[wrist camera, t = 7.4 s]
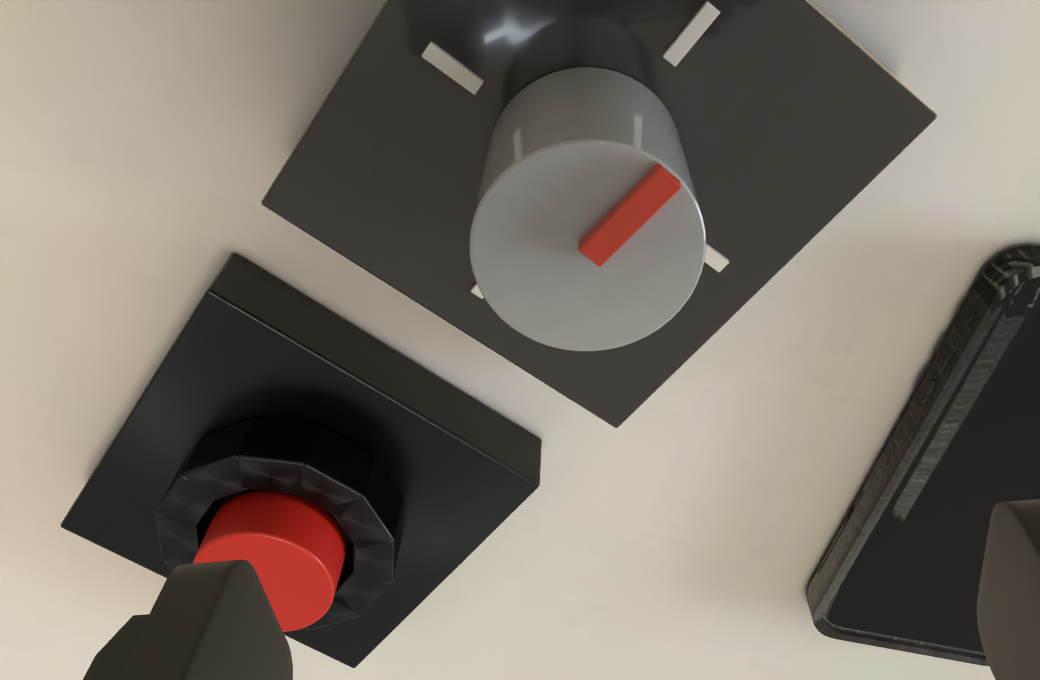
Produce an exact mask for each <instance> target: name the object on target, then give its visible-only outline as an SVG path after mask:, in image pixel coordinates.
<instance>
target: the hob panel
mask: <svg viewBox="0 0 1040 680" xmlns="http://www.w3.org/2000/svg"><path fill="white" fill-rule="evenodd" d="M578 67H594V68H602V69H608V70H612V71H615V72H619V73H621V74H624V75H626V76H629V77H631V78H633V79H634V80H636V81H638V82H640V83H641V84H643V85H644V86H645V87H647V88H648V89H649V90H650V91H652V92H653V93H654V94H655V95H656V96H657V97H658V98H659V99H660V100H661V102H662V103H663V104H664V106H665V107H666V109H667V110H668V111H669V113H670V115H671V117H672V119H673V121H674V123H675V126H676V128H677V131H678V134H679V137H680V141H681V144H682V148H683V151H684V155H685V158H686V161H687V165H688V168H689V172H690V175H691V179H692V182H693V186H694V189H695V192H696V196H697V199H698V203H699V206H700V210H701V213H702V216H703V221H704V226H705V231H706V253H705V261H704V265H703V269H702V273H701V275H700V278H699V280H698V283H697V285H696V287H695V289H694V291H693V292H692V294H691V296H690V298H689V299H688V300H687V302H686V303H685V304H684V306H683V307H682V308H681V310H680V311H679V312H678V313H677V314H676V315H675V316H674V317H673V318H672V319H671V320H670V321H668V322H667V323H666V324H665V325H663V326H662V327H661V328H659V329H658V330H656V331H655V332H653V333H651V334H650V335H648V336H646V337H644V338H642V339H640V340H638V341H635V342H633V343H630V344H627V345H624V346H621V347H617V348H612V349H607V350H599V351H573V350H564V349H560V348H555V347H551V346H548V345H545V344H542V343H539V342H536V341H534V340H532V339H530V338H528V337H526V336H524V335H523V334H521V333H519V332H518V331H516V330H515V329H513V328H512V327H511V326H509V325H508V324H507V323H506V322H505V321H503V320H502V319H501V318H500V317H499V316H498V315H497V314H496V312H495V311H494V310H493V309H492V308H491V307H490V305H489V304H488V302H487V301H486V300H485V298H484V297H483V295H482V293H481V291H480V289H479V287H478V285H477V283H476V280H475V277H474V274H473V271H472V266H471V261H470V250H469V242H470V231H471V226H472V221H473V217H474V212H475V207H476V203H477V198H478V193H479V189H480V184H481V179H482V175H483V170H484V165H485V161H486V156H487V151H488V147H489V142H490V138H491V134H492V132H493V129H494V126H495V124H496V122H497V120H498V118H499V116H500V115H501V113H502V111H503V110H504V109H505V107H506V106H507V105H508V103H509V102H510V101H511V100H512V99H513V98H514V97H515V96H516V95H517V94H518V93H519V92H520V91H521V90H523V89H524V88H525V87H527V86H528V85H529V84H531V83H533V82H534V81H536V80H538V79H539V78H542V77H544V76H546V75H549V74H551V73H554V72H557V71H561V70H565V69H571V68H578ZM936 117H937V115H936V113H935V112H934V111H933V110H931V109H930V108H929V107H928V106H927V105H926V104H925V103H924V102H923V101H922V100H921V99H920V98H919V97H918V96H917V95H916V94H915V93H914V92H913V91H912V90H911V89H910V88H909V87H908V86H906V85H905V84H904V83H903V82H902V81H901V80H900V79H899V78H898V77H897V76H896V75H895V74H894V73H893V72H891V71H890V70H889V69H888V68H887V67H886V66H885V65H883V64H882V63H881V62H880V61H879V60H878V59H877V58H875V57H874V56H873V55H872V54H871V53H870V52H869V51H867V50H866V49H865V48H864V47H863V46H862V45H861V44H859V43H858V42H857V41H856V40H855V39H854V38H853V37H851V36H850V35H849V34H848V33H847V32H846V31H845V30H843V29H842V28H841V27H840V26H839V25H838V24H837V23H835V22H834V21H833V20H832V19H831V18H830V17H829V16H827V15H826V14H825V13H824V12H823V11H822V10H821V9H819V8H818V7H817V6H816V5H815V4H814V3H813V2H811V1H810V0H387V1H386V2H385V4H384V6H383V7H382V9H381V10H380V12H379V14H378V15H377V17H376V18H375V20H374V22H373V23H372V25H371V26H370V28H369V30H368V31H367V33H366V34H365V36H364V38H363V39H362V41H361V42H360V44H359V46H358V47H357V49H356V50H355V52H354V54H353V55H352V57H351V58H350V60H349V62H348V63H347V65H346V66H345V68H344V70H343V71H342V73H341V75H340V76H339V78H338V79H337V81H336V83H335V84H334V86H333V87H332V89H331V91H330V92H329V94H328V95H327V97H326V99H325V100H324V102H323V103H322V105H321V107H320V108H319V110H318V111H317V113H316V115H315V116H314V118H313V119H312V121H311V123H310V124H309V126H308V127H307V129H306V131H305V132H304V134H303V135H302V137H301V139H300V140H299V142H298V143H297V145H296V147H295V148H294V150H293V151H292V153H291V155H290V156H289V158H288V159H287V161H286V163H285V164H284V166H283V167H282V169H281V171H280V172H279V174H278V175H277V177H276V179H275V180H274V182H273V183H272V185H271V187H270V188H269V190H268V191H267V193H266V195H265V196H264V198H263V200H262V203H261V204H262V205H264V206H265V207H267V208H268V209H270V210H271V211H273V212H275V213H276V214H278V215H279V216H281V217H283V218H284V219H286V220H287V221H289V222H290V223H292V224H294V225H295V226H297V227H298V228H300V229H301V230H303V231H305V232H306V233H308V234H309V235H311V236H313V237H314V238H316V239H317V240H319V241H320V242H322V243H324V244H325V245H327V246H328V247H330V248H332V249H333V250H335V251H336V252H338V253H339V254H341V255H343V256H344V257H346V258H347V259H349V260H351V261H352V262H354V263H355V264H357V265H358V266H360V267H362V268H363V269H365V270H366V271H368V272H370V273H371V274H373V275H374V276H376V277H377V278H379V279H381V280H382V281H384V282H385V283H387V284H389V285H390V286H392V287H393V288H395V289H396V290H398V291H400V292H401V293H403V294H404V295H406V296H408V297H409V298H411V299H412V300H414V301H415V302H417V303H419V304H420V305H422V306H423V307H425V308H427V309H428V310H430V311H431V312H433V313H434V314H436V315H438V316H439V317H441V318H442V319H444V320H446V321H447V322H449V323H450V324H452V325H453V326H455V327H457V328H458V329H460V330H461V331H463V332H465V333H466V334H468V335H469V336H471V337H472V338H474V339H476V340H477V341H479V342H480V343H482V344H484V345H485V346H487V347H488V348H490V349H491V350H493V351H495V352H496V353H498V354H499V355H501V356H503V357H504V358H506V359H507V360H509V361H510V362H512V363H514V364H515V365H517V366H518V367H520V368H521V369H523V370H525V371H526V372H528V373H529V374H531V375H533V376H534V377H536V378H537V379H539V380H540V381H542V382H544V383H545V384H547V385H548V386H550V387H552V388H553V389H555V390H556V391H558V392H559V393H561V394H563V395H564V396H566V397H567V398H569V399H571V400H572V401H574V402H575V403H577V404H578V405H580V406H582V407H583V408H585V409H586V410H588V411H590V412H591V413H593V414H594V415H596V416H597V417H599V418H601V419H602V420H604V421H605V422H607V423H609V424H610V425H612V426H613V427H615V428H618V427H619V426H620V425H621V424H622V423H623V422H624V421H625V420H626V419H627V418H628V417H629V416H630V415H631V414H632V413H633V412H634V411H635V410H636V409H637V408H638V407H639V406H640V405H642V404H643V403H644V402H645V401H646V400H647V399H648V398H649V397H650V396H651V395H652V394H653V393H654V392H655V391H656V390H657V389H658V388H659V387H660V386H661V385H662V384H663V383H664V382H665V381H666V380H667V379H668V378H669V377H670V376H671V375H672V374H673V373H674V372H675V371H676V370H678V369H679V368H680V367H681V366H682V365H683V364H684V363H685V362H686V361H687V360H688V359H689V358H690V357H691V356H692V355H693V354H694V353H695V352H696V351H697V350H698V349H699V348H700V347H701V346H702V345H703V344H704V343H705V342H706V341H707V340H708V339H709V338H710V337H711V336H712V335H714V334H715V333H716V332H717V331H718V330H719V329H720V328H721V327H722V326H723V325H724V324H725V323H726V322H727V321H728V320H729V319H730V318H731V317H732V316H733V315H734V314H735V313H736V312H737V311H738V310H739V309H740V308H741V307H742V306H743V305H744V304H745V303H746V302H747V301H749V300H750V299H751V298H752V297H753V296H754V295H755V294H756V293H757V292H758V291H759V290H760V289H761V288H762V287H763V286H764V285H765V284H766V283H767V282H768V281H769V280H770V279H771V278H772V277H773V276H774V275H775V274H776V273H777V272H778V271H779V270H780V269H781V268H782V267H783V266H785V265H786V264H787V263H788V262H789V261H790V260H791V259H792V258H793V257H794V256H795V255H796V254H797V253H798V252H799V251H800V250H801V249H802V248H803V247H804V246H805V245H806V244H807V243H808V242H809V241H810V240H811V239H812V238H813V237H814V236H815V235H816V234H817V233H818V232H819V231H821V230H822V229H823V228H824V227H825V226H826V225H827V224H828V223H829V222H830V221H831V220H832V219H833V218H834V217H835V216H836V215H837V214H838V213H839V212H840V211H841V210H842V209H843V208H844V207H845V206H846V205H847V204H848V203H849V202H850V201H851V200H852V199H853V198H854V197H855V196H857V195H858V194H859V193H860V192H861V191H862V190H863V189H864V188H865V187H866V186H867V185H868V184H869V183H870V182H871V181H872V180H873V179H874V178H875V177H876V176H877V175H878V174H879V173H880V172H881V171H882V170H883V169H884V168H885V167H886V166H887V165H888V164H889V163H890V162H892V161H893V160H894V159H895V158H896V157H897V156H898V155H899V154H900V153H901V152H902V151H903V150H904V149H905V148H906V147H907V146H908V145H909V144H910V143H911V142H912V141H913V140H914V139H915V138H916V137H917V136H918V135H919V134H920V133H921V132H922V131H923V130H924V129H925V128H926V127H928V126H929V125H930V124H931V123H932V122H933V121H934V120H935V119H936Z"/></svg>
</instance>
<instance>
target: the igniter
mask: <svg viewBox="0 0 1040 680" xmlns="http://www.w3.org/2000/svg"><path fill="white" fill-rule="evenodd" d="M541 442H542V441H541V440H540V439H539V438H537V437H535V436H534V435H532V434H531V433H529V432H527V431H526V430H524V429H522V428H521V427H519V426H517V425H516V424H514V423H512V422H511V421H509V420H507V419H506V418H504V417H503V416H501V415H499V414H498V413H496V412H494V411H493V410H491V409H489V408H488V407H486V406H484V405H483V404H481V403H480V402H478V401H476V400H475V399H473V398H471V397H470V396H468V395H466V394H465V393H463V392H461V391H460V390H458V389H457V388H455V387H453V386H452V385H450V384H448V383H447V382H445V381H443V380H442V379H440V378H438V377H437V376H435V375H434V374H432V373H430V372H429V371H427V370H425V369H424V368H422V367H420V366H419V365H417V364H415V363H414V362H412V361H411V360H409V359H407V358H406V357H404V356H402V355H401V354H399V353H397V352H396V351H394V350H392V349H391V348H389V347H388V346H386V345H384V344H383V343H381V342H379V341H378V340H376V339H374V338H373V337H371V336H369V335H368V334H366V333H365V332H363V331H361V330H360V329H358V328H356V327H355V326H353V325H351V324H350V323H348V322H346V321H345V320H343V319H342V318H340V317H338V316H337V315H335V314H333V313H332V312H330V311H328V310H327V309H325V308H323V307H322V306H320V305H319V304H317V303H315V302H314V301H312V300H310V299H309V298H307V297H305V296H304V295H302V294H300V293H299V292H297V291H295V290H294V289H292V288H291V287H289V286H287V285H286V284H284V283H282V282H281V281H279V280H277V279H276V278H274V277H272V276H271V275H269V274H268V273H266V272H264V271H263V270H261V269H259V268H258V267H256V266H254V265H253V264H251V263H249V262H248V261H246V260H245V259H243V258H241V257H240V256H238V255H236V254H232V255H231V256H230V257H229V259H228V260H227V262H226V263H225V265H224V266H223V268H222V269H221V270H220V272H219V273H218V275H217V276H216V278H215V279H214V281H213V282H212V284H211V285H210V286H209V288H208V289H207V291H206V292H205V294H204V296H203V297H202V299H201V300H200V302H199V304H198V305H197V307H196V308H195V310H194V312H193V313H192V315H191V316H190V318H189V320H188V321H187V323H186V324H185V326H184V328H183V329H182V331H181V332H180V334H179V336H178V337H177V339H176V340H175V342H174V344H173V345H172V347H171V348H170V350H169V352H168V353H167V355H166V356H165V358H164V360H163V361H162V363H161V364H160V366H159V368H158V369H157V371H156V372H155V374H154V376H153V377H152V379H151V381H150V382H149V384H148V385H147V387H146V389H145V390H144V392H143V393H142V395H141V397H140V398H139V400H138V401H137V403H136V405H135V406H134V408H133V409H132V411H131V413H130V414H129V416H128V417H127V419H126V421H125V422H124V424H123V425H122V427H121V429H120V430H119V432H118V433H117V435H116V437H115V438H114V440H113V441H112V443H111V445H110V446H109V448H108V449H107V451H106V453H105V454H104V456H103V457H102V459H101V461H100V462H99V464H98V465H97V467H96V469H95V470H94V472H93V473H92V475H91V477H90V478H89V480H88V481H87V483H86V485H85V486H84V488H83V489H82V491H81V493H80V494H79V496H78V497H77V499H76V501H75V502H74V504H73V505H72V507H71V509H70V510H69V512H68V513H67V515H66V517H65V518H64V520H63V521H62V523H61V527H62V528H64V529H66V530H68V531H70V532H72V533H74V534H76V535H79V536H81V537H83V538H85V539H87V540H89V541H91V542H93V543H95V544H97V545H99V546H101V547H103V548H105V549H108V550H110V551H112V552H114V553H116V554H118V555H120V556H122V557H124V558H126V559H128V560H130V561H132V562H134V563H137V564H139V565H141V566H143V567H145V568H147V569H149V570H151V571H153V572H155V573H157V574H159V575H161V576H163V577H166V578H168V576H169V575H170V573H171V572H172V571H173V569H175V568H176V567H177V566H179V565H181V564H193V561H194V558H195V556H196V553H197V551H198V549H199V547H200V545H201V543H202V541H203V539H204V536H205V534H206V532H207V530H208V528H209V526H210V524H211V522H212V520H213V517H214V516H215V514H216V512H217V511H218V510H219V509H220V508H221V506H223V505H224V504H225V503H226V502H228V501H229V500H231V499H233V498H234V497H237V496H239V495H242V494H245V493H249V492H255V491H271V492H280V493H289V494H293V495H296V496H299V497H301V498H302V499H304V500H306V501H308V502H310V503H312V504H314V505H316V506H317V507H319V508H321V509H323V510H324V511H326V512H327V513H328V514H329V515H330V516H331V517H332V518H333V519H334V521H335V522H336V523H337V525H338V526H339V528H340V529H341V532H342V534H343V536H344V540H345V544H346V555H345V559H344V563H343V566H342V570H341V574H340V577H339V581H338V584H337V588H336V591H335V595H334V598H333V602H332V604H331V606H330V608H329V610H328V611H327V612H326V613H325V615H324V616H322V617H321V618H320V619H319V620H318V621H316V622H315V623H313V624H311V625H309V626H307V627H304V628H301V629H298V630H294V631H287V632H283V633H284V635H286V636H288V637H290V638H292V639H294V640H296V641H298V642H300V643H302V644H304V645H306V646H308V647H311V648H313V649H315V650H317V651H319V652H321V653H323V654H325V655H327V656H329V657H331V658H333V659H335V660H337V661H340V662H342V663H344V664H346V665H348V666H350V667H352V668H355V667H356V666H357V665H358V664H359V663H360V662H361V661H362V660H363V659H364V658H365V657H366V656H368V655H369V654H370V653H371V652H372V651H373V650H374V649H375V648H376V647H377V646H378V645H379V644H380V643H381V642H382V641H383V640H384V639H385V638H386V637H387V636H388V635H389V634H390V633H391V632H392V631H393V630H394V629H395V628H396V627H397V626H398V625H399V624H400V623H401V622H402V621H403V620H404V619H405V618H406V617H407V616H408V615H409V614H410V613H411V612H412V611H413V610H414V609H415V608H416V607H417V606H418V605H419V604H420V603H421V602H422V601H423V600H424V599H425V598H426V597H427V596H428V595H429V594H430V593H431V592H432V591H433V590H434V589H435V588H436V587H437V586H438V585H439V584H440V583H441V582H442V581H443V580H444V579H446V578H447V577H448V576H449V575H450V574H451V573H452V572H453V571H454V570H455V569H456V568H457V567H458V566H459V565H460V564H461V563H462V562H463V561H464V560H465V559H466V558H467V557H468V556H469V555H470V554H471V553H472V552H473V551H474V550H475V549H476V548H477V547H478V546H479V545H480V544H481V543H482V542H483V541H484V540H485V539H486V538H487V537H488V536H489V535H490V534H491V533H492V532H493V531H494V530H495V529H496V528H497V527H498V526H499V525H500V524H501V523H502V522H503V521H504V520H505V519H506V518H507V517H508V516H509V515H510V514H511V513H512V512H513V511H514V510H515V509H516V508H517V507H518V506H519V505H520V504H521V503H522V502H524V501H525V500H526V499H527V498H528V497H529V496H530V495H531V494H532V493H533V492H534V491H535V490H536V489H537V488H538V487H539V485H540V465H541Z"/></svg>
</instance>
